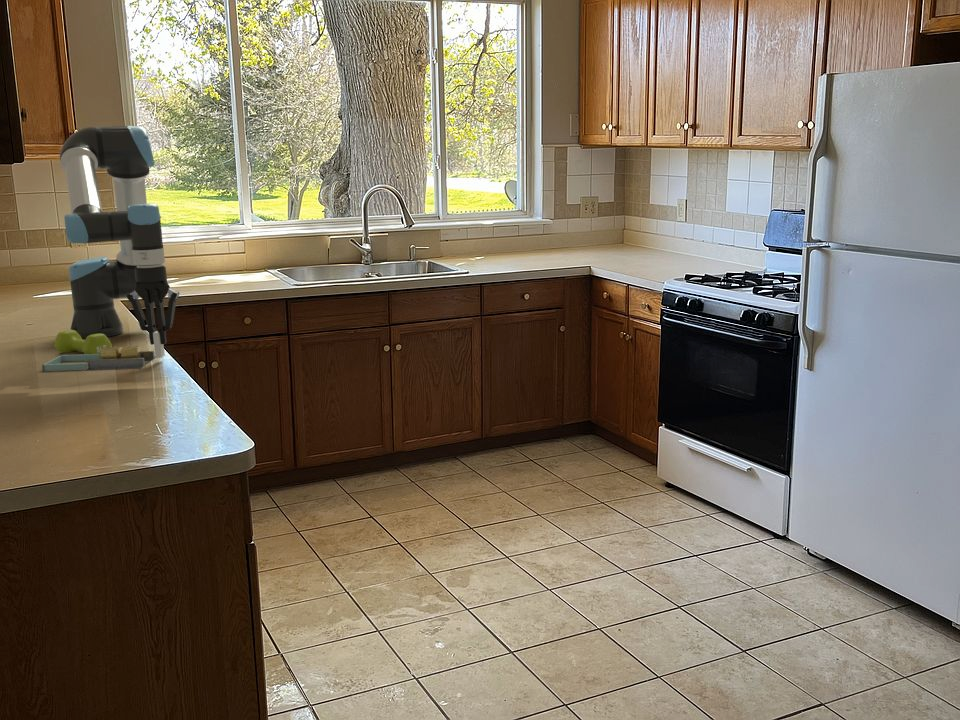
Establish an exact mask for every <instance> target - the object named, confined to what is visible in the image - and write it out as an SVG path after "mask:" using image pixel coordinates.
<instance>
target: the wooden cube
mask: <svg viewBox="0 0 960 720" xmlns="http://www.w3.org/2000/svg"><path fill="white" fill-rule="evenodd" d="M140 351H141V347H140V345H134V346H133V345H132V346H131V345H130V346H127V345H126V346H122V347H121V357H122V359H124V358H141V355H140Z"/></svg>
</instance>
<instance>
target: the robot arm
mask: <svg viewBox="0 0 960 720" xmlns="http://www.w3.org/2000/svg"><path fill="white" fill-rule="evenodd" d="M59 163H60V167H61V170H62V171H63V172H64V173H65V177H66V182H67V183H66V184H67V190H68V197H69V199H68V200H69V204H70V212H71V213H68V214H65V215H64V217H63V220H64V226H65V235H66V241H68V243H70V244H83V245H85V244H94V243H104V242H119V243H120V244H119V246H120V251H118V252H117V254H116V257H115V259H116V260H110V259H109V257H107V256H101V257H94V258H89V259H88V258H87V259H84V260H79V261H77V262H74V263H71V265H70V266H69V268H68V274H69V275H68V277H69V279H68V281H69V282H70V283H69V284H70V288H71V289H70V290H71V297H72V307H73V316H72V320H71V325H70V329H69V330H75V331H76V332H77V333H78V334H79V335H80V336H81V338H82V340H85V339H86V337H87V336H89V335H93V334H98V333H101V334H104V335H105V336H106V337H107V338H109V337H114V336H117V335H120V334H123V333H124V325H123V323H122V321H121V318H120V316H119V314H118V312H117V310H116V307H115V302H114V300H118V299H127V300H128V301H129V302H130V304H131V306H132V308H133V311H134V314H135V316H136V319H137V321H138V324H139V328H140V330H141V331H145V332H148V335H149V337H148V338H149V343H150V345H152V346H154V347H153V348H154V355H155V356H156V358H155V359H157V358H158V359H159V358H160V359H162V358H163V357H165V355H166V353H165V347H164V345H166V344H167V342H168V340H167V339H168V338H167V331H168V330H170V329H171V328H172V327H173V325H174V319H175V311H176V305H177V304H176V303H177V299H178V298H179V296H180V291H177V290H176V291H175V290H174V289H172V288H171V286H170V285H169V283H168V277H167V276H168V274H167V268H166V265H164V264H165V263H166V259H165V249H164V245H163V244H164V243H163V234H162V232H163V231H162V222H161V218H162V216H161V214H160V207H159V206H158V204H156V203H147V190H146V178H147V177H148V176H149V174H150V168H152V167H154V166H155V160H154V155H153V151H152V146H151V143H150V139H149V135H148V131H147V130H146V128H144V127H143V126H140V125H139V126H138V125H136V126H135V125H117V126H113V125H112V126H87V127H83V128H81V129H79V130H77V131H75V132H74V133H72V134H71V135H70V136H69V137H68V138H67V139H66V140H65V141H64V143H63V144H62V146H61V150H60V153H59ZM98 169H99V170H101V169H106V173H107V175H108V176H110V178H112V180H113V186H114V195H115V204H116V205H115V206H116V211H103V208H102V207H103V205H102V200H101V194H100V190H99V184H98V177H97V173H96V171H97V170H98ZM166 296H167V297H168V304H167V311H166V317H165V310H164V309H165V307H164V305H165V303H164V300H165V298H166ZM139 297H140V298H141V299H142V301H143V302H144V304H143V305H144V307H145V312H144V310H143V307H142V304H141V302H140V300H139ZM154 307H155V309H154ZM155 312H156V313H155ZM145 313H146V314H145ZM155 314H156V317H155ZM145 315H146V316H145ZM155 318H156V319H155ZM156 321H157V327H156ZM157 329H158V330H157Z"/></svg>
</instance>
